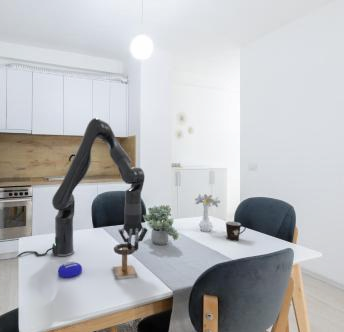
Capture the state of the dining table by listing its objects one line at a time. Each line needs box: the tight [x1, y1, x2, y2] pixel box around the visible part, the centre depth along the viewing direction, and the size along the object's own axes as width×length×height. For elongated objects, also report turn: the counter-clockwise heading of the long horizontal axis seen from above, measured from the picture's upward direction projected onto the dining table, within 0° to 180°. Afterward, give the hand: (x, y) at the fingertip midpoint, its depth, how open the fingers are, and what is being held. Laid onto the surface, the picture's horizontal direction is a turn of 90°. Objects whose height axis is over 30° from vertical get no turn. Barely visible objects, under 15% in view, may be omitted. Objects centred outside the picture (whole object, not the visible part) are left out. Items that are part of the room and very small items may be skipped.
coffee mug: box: [225, 220, 246, 242], centre depth 152 cm, size 12×9×10 cm
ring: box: [113, 243, 136, 256], centre depth 109 cm, size 10×10×2 cm
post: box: [112, 248, 138, 278], centre depth 109 cm, size 9×9×11 cm
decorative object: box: [57, 260, 83, 279], centre depth 107 cm, size 10×6×10 cm
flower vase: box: [194, 193, 221, 232], centre depth 170 cm, size 13×18×25 cm
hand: (132, 250), depth 109 cm, fingers closed on ring, 2 cm apart
